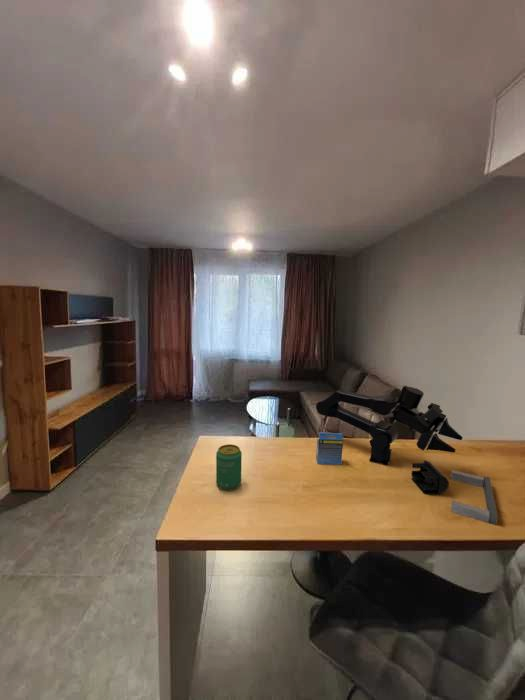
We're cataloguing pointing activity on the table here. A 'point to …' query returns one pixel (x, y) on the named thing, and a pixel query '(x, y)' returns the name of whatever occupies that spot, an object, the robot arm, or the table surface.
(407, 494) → the table surface
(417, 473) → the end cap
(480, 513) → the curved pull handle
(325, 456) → the label tape box
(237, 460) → the beverage can
